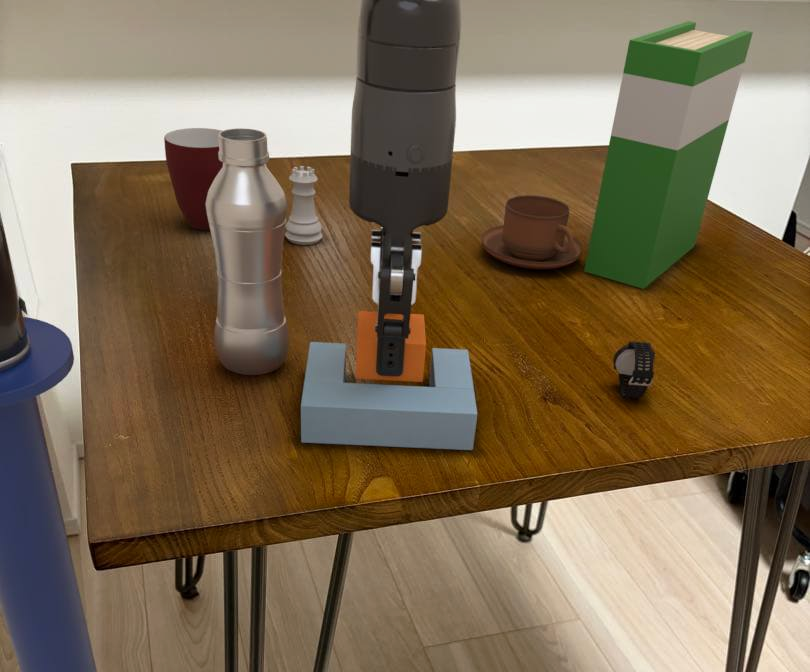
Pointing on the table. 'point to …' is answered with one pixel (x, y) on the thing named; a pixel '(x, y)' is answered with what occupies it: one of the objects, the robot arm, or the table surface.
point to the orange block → (368, 348)
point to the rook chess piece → (303, 209)
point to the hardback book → (663, 150)
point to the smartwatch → (634, 368)
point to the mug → (193, 170)
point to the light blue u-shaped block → (388, 404)
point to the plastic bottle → (248, 255)
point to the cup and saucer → (533, 234)
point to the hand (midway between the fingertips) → (389, 355)
